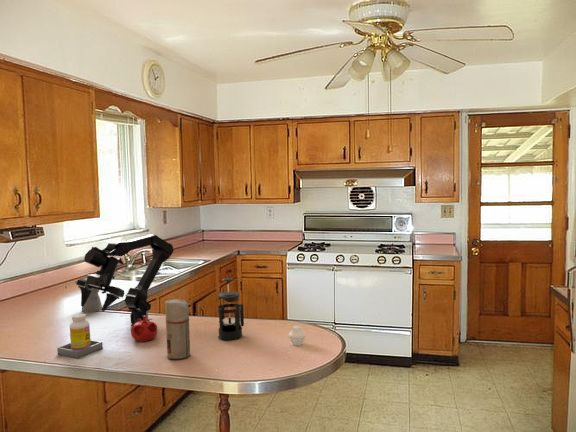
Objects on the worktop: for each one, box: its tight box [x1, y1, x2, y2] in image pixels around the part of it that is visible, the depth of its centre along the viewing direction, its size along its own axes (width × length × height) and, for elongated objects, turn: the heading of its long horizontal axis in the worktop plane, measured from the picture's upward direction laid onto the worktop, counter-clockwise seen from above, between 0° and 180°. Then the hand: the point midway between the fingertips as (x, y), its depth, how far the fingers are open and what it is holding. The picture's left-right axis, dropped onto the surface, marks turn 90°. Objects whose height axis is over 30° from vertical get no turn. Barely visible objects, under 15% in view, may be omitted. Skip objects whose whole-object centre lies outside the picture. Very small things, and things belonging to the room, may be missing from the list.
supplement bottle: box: [69, 313, 91, 351], centre depth 173 cm, size 7×7×13 cm
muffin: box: [288, 325, 306, 347], centre depth 173 cm, size 6×6×7 cm
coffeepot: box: [74, 272, 107, 313], centre depth 230 cm, size 15×9×18 cm, turn 113°
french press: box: [216, 277, 245, 342], centre depth 183 cm, size 12×9×23 cm
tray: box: [57, 339, 104, 360], centre depth 173 cm, size 11×11×2 cm
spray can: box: [164, 298, 191, 360], centre depth 165 cm, size 8×8×20 cm
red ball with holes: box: [130, 316, 158, 343], centre depth 184 cm, size 10×10×9 cm
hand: (92, 308), depth 185 cm, fingers open, 9 cm apart
